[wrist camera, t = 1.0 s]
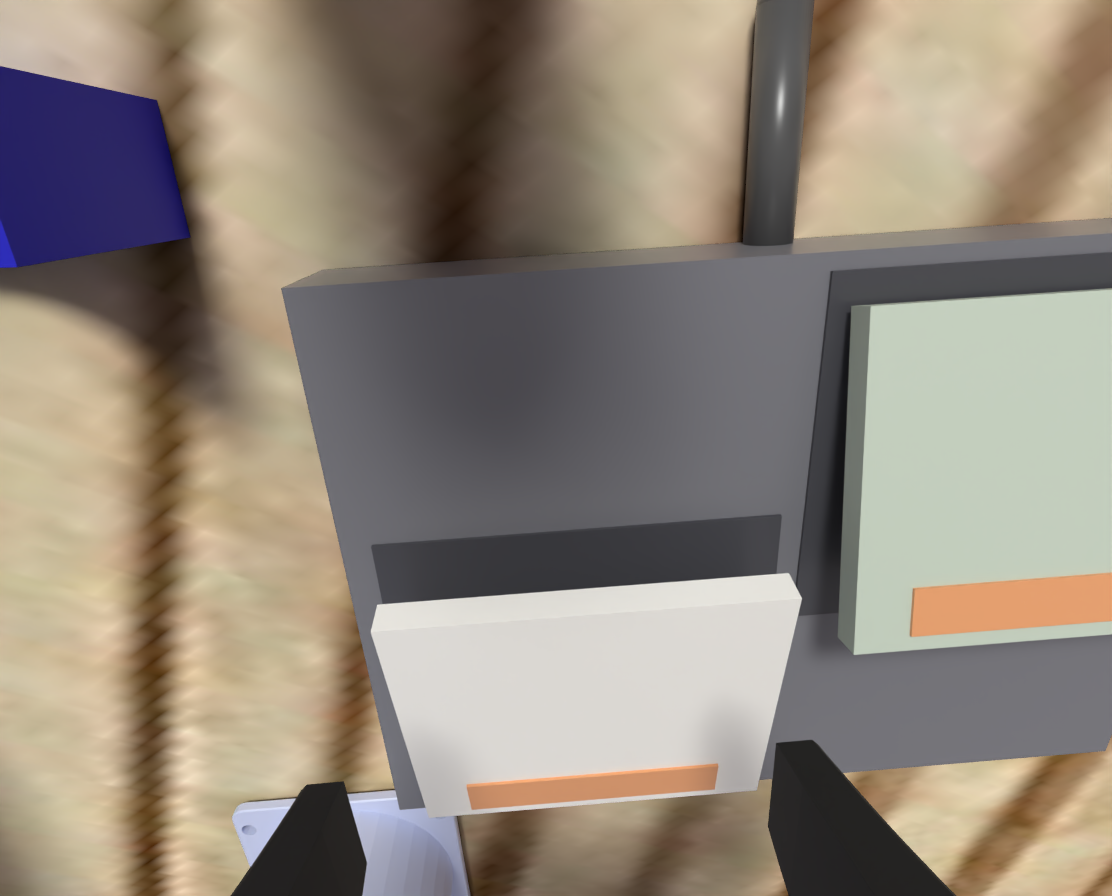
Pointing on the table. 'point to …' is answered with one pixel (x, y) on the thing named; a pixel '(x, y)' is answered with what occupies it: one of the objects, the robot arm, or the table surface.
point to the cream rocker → (588, 691)
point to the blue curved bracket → (81, 171)
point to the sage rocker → (978, 472)
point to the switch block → (674, 440)
